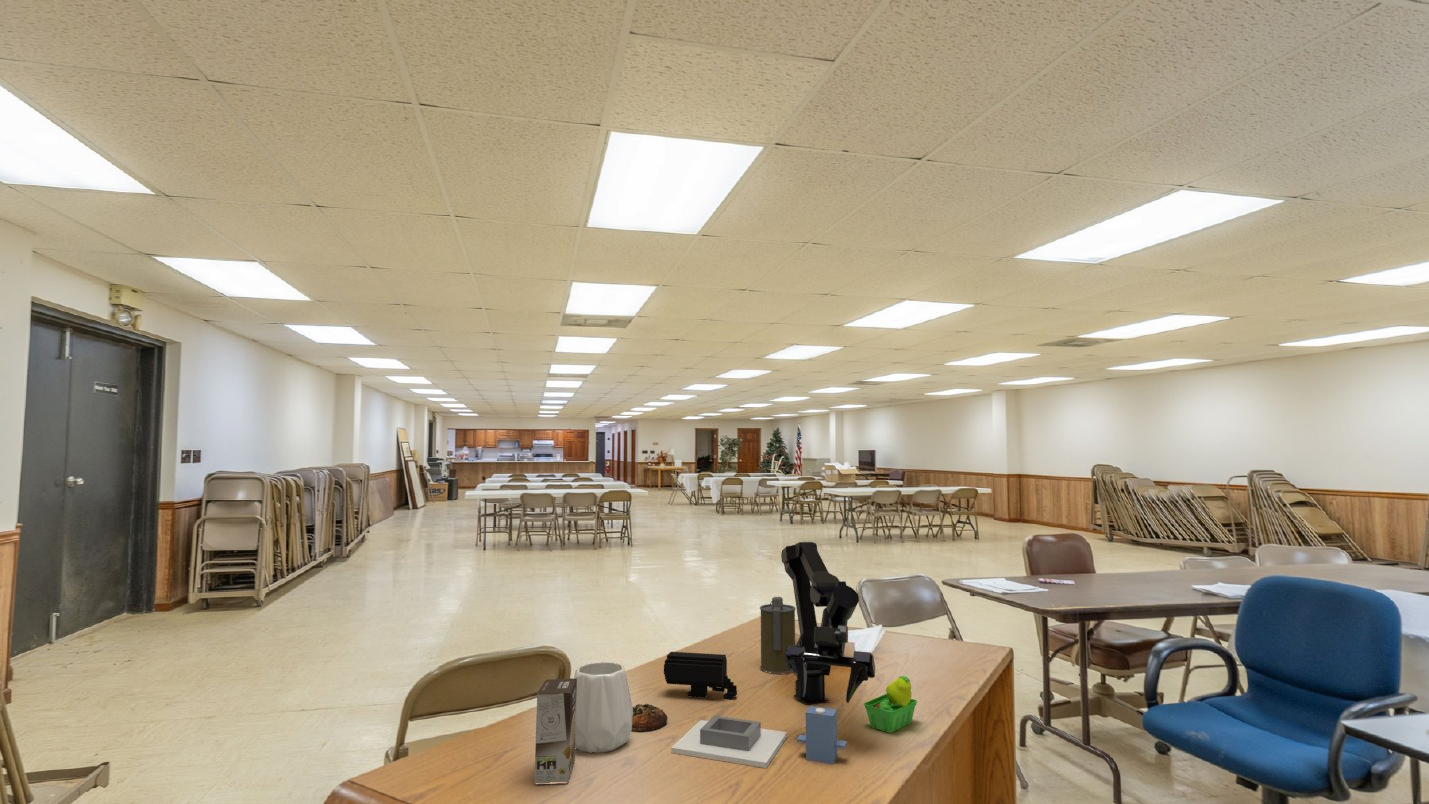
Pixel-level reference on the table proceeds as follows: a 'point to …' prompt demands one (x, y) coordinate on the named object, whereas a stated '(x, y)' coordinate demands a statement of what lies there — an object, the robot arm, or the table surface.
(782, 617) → the canister
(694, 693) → the security camera
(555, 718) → the coffee box
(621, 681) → the vase
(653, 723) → the bread roll
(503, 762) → the table surface
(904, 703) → the fruit basket
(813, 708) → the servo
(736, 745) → the plate
